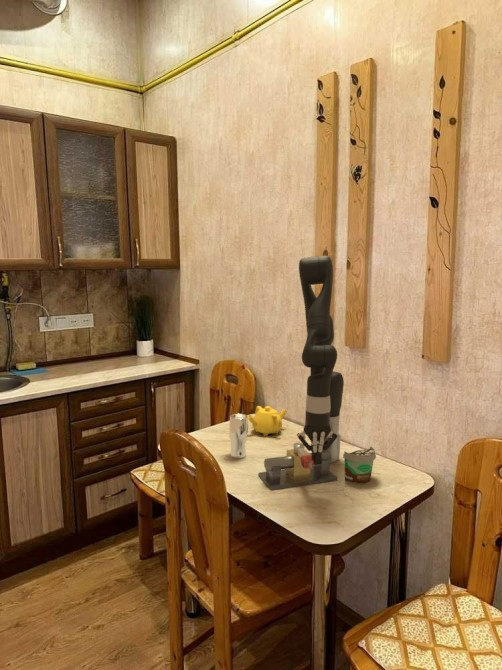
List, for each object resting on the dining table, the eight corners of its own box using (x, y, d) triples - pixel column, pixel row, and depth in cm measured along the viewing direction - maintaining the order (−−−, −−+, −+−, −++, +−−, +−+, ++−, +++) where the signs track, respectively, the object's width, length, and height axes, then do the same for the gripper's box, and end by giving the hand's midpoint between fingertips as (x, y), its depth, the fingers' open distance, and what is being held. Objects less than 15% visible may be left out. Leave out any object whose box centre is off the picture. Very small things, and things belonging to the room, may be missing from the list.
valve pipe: (321, 466, 166) (322, 442, 164) (337, 480, 155) (338, 454, 154) (258, 475, 157) (259, 450, 156) (270, 490, 147) (271, 463, 146)
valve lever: (292, 450, 156) (292, 442, 156) (302, 449, 157) (303, 442, 157) (302, 468, 142) (303, 460, 142) (314, 468, 142) (314, 460, 142)
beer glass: (245, 459, 170) (246, 420, 168) (226, 457, 171) (227, 418, 169) (248, 452, 177) (250, 414, 175) (231, 450, 178) (232, 412, 176)
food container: (353, 487, 150) (355, 458, 149) (341, 480, 156) (343, 451, 154) (382, 480, 156) (384, 452, 155) (369, 473, 161) (371, 446, 160)
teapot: (274, 422, 212) (274, 398, 211) (298, 434, 197) (299, 409, 196) (236, 429, 202) (237, 404, 200) (259, 443, 187) (259, 416, 185)
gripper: (335, 404, 147) (333, 457, 150) (294, 406, 146) (293, 458, 148) (342, 411, 140) (340, 466, 142) (299, 413, 138) (298, 468, 141)
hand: (316, 462), depth 145 cm, fingers closed
